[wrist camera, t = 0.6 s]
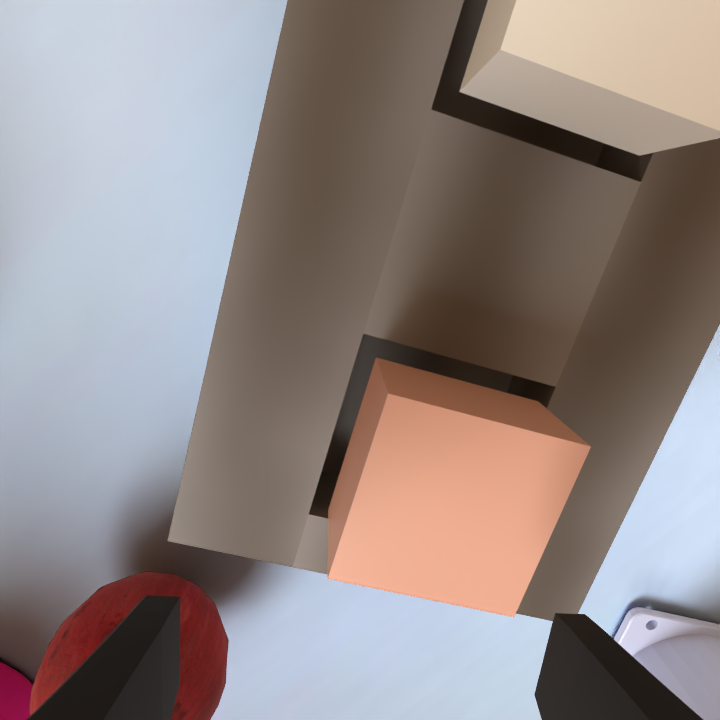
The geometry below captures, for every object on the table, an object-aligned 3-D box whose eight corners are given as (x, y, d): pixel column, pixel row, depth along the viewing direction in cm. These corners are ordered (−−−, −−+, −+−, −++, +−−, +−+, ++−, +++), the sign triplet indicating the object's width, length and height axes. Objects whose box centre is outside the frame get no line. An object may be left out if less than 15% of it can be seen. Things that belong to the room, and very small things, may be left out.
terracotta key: (538, 401, 14) (591, 446, 11) (479, 543, 15) (514, 617, 13) (376, 357, 14) (388, 393, 11) (328, 509, 15) (327, 579, 12)
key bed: (796, -34, 15) (931, -108, 12) (532, 558, 20) (571, 624, 17) (361, -222, 13) (371, -374, 10) (197, 483, 18) (167, 540, 15)
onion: (97, 522, 19) (-66, 731, 11) (248, 532, 19) (193, 738, 12) (100, 643, 20) (-41, 902, 13) (240, 650, 21) (187, 901, 13)
